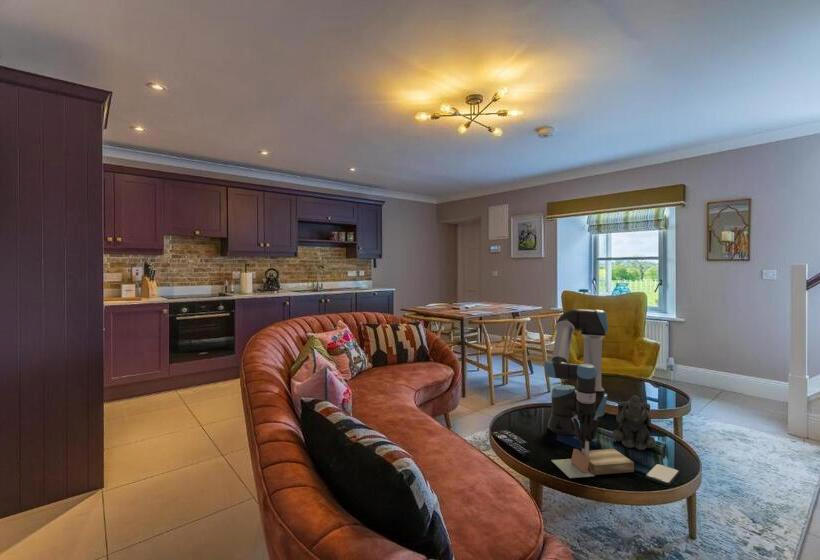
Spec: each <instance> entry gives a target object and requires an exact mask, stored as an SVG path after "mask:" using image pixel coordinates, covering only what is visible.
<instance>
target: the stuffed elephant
mask: <svg viewBox="0 0 820 560" xmlns="http://www.w3.org/2000/svg"><path fill="white" fill-rule="evenodd" d="M650 410H651V405H650V404H649V403H646V402H645V403H644V402H641V398H640V397H639V396H638V395H633V396H631V397H630V398H629V400H627V401H619V402H618V403H617V415H616V418H615V420H616V422H617V423H618V424H619V425H618V427H617V429H614V430H612V433H611V434H612V438H613V439H614V440H615V441H616V442H619V443H621V444H622V445H623V446H624V447H625V448H626V449H627V448H628V449H632V448H635V449H636V450H639V451H645V450H646V448H647V449H651V448H654V447H655V445H656V439H655V438H654V437H653V436H650V435H651V434H650V432H649V429H648V427H647V425H648V426H650V427H651V426H652V417H651V415H650Z"/></svg>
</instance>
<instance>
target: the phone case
mask: <svg viewBox="0 0 820 560" xmlns="http://www.w3.org/2000/svg"><path fill="white" fill-rule="evenodd" d="M679 475H680V471H679V469H676V468H673V467H669V466H668V465H667V466H666V465H663V464H660V463H656V464H655V465H654V466H653V467H652V468H650V469H649V471H648V472H647V473H645V479H646V480H649V481H652V482H655V483H658V484H661V485H664V486H666V487H667V486H668V487H670V486H671V485H672V483H674V481H675V480H676V478H678V476H679Z"/></svg>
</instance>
